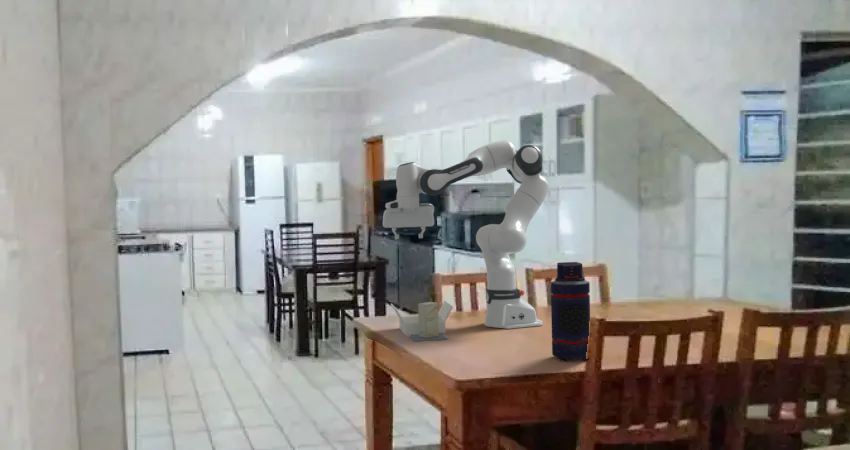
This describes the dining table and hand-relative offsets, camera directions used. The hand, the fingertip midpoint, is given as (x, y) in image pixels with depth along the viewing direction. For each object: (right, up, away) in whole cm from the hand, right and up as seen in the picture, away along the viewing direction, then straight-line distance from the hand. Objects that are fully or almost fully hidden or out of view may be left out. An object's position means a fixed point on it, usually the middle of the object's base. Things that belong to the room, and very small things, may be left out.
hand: (408, 238), depth 316 cm
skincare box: (+8, -35, -26) cm, 44 cm away
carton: (+5, -35, -12) cm, 37 cm away
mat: (+8, -35, -26) cm, 45 cm away
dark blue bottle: (+52, -37, -64) cm, 90 cm away
